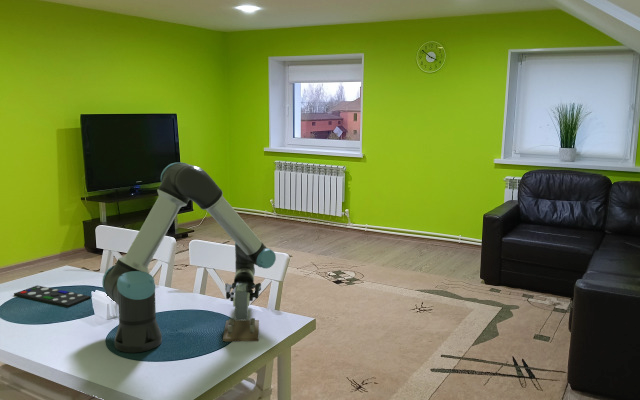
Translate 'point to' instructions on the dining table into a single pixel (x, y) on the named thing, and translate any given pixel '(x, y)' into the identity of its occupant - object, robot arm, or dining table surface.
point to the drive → (241, 301)
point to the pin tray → (241, 330)
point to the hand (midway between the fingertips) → (241, 302)
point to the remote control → (52, 296)
